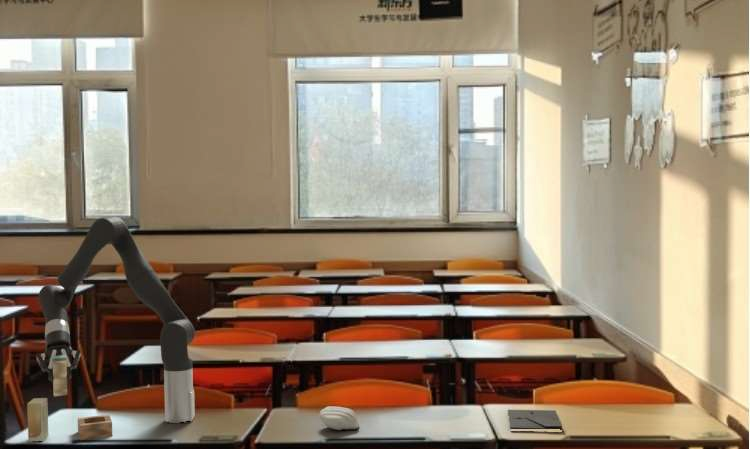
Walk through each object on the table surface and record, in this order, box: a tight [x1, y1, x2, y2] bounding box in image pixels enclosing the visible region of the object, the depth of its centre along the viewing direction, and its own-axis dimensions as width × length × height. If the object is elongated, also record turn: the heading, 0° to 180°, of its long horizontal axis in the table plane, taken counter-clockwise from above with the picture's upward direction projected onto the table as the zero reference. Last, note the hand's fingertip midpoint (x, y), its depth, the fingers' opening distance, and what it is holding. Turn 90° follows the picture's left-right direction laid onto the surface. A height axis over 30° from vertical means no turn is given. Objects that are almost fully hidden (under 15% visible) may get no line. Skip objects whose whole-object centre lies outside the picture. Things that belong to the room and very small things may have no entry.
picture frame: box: [507, 409, 563, 431], centre depth 257 cm, size 16×3×21 cm
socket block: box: [77, 414, 113, 441], centre depth 252 cm, size 10×10×4 cm
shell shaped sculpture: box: [318, 405, 360, 431], centre depth 253 cm, size 13×13×6 cm
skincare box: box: [26, 397, 50, 442], centre depth 246 cm, size 6×4×12 cm
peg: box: [52, 355, 68, 397], centre depth 255 cm, size 4×4×12 cm
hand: (60, 379), depth 254 cm, fingers closed on peg, 4 cm apart
